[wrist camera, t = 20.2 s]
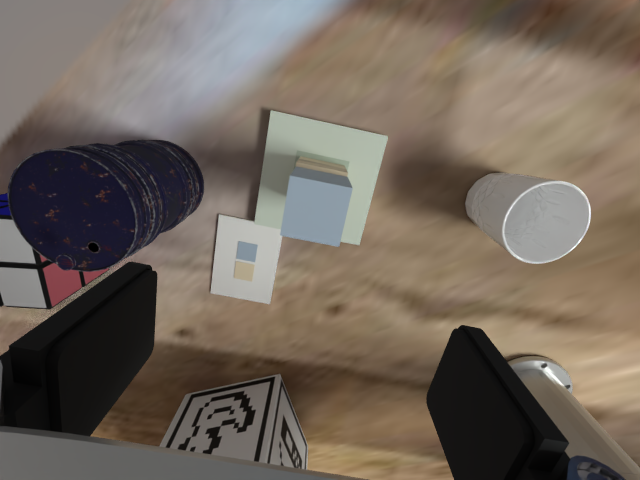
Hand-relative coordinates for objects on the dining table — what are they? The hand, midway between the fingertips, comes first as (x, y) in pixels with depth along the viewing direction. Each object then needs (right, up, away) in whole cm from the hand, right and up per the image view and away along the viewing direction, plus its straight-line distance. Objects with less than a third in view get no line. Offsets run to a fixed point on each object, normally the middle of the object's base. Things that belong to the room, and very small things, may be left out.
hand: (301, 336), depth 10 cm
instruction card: (-9, 0, +32) cm, 33 cm away
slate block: (0, +7, +22) cm, 23 cm away
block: (-11, -25, +41) cm, 50 cm away
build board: (0, +10, +29) cm, 30 cm away
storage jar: (-18, +10, +29) cm, 36 cm away
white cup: (+21, +8, +29) cm, 37 cm away
